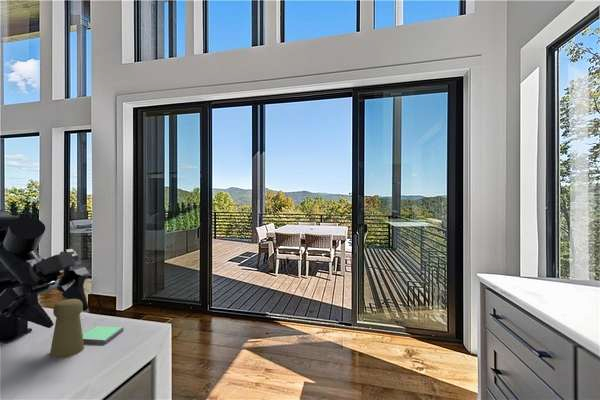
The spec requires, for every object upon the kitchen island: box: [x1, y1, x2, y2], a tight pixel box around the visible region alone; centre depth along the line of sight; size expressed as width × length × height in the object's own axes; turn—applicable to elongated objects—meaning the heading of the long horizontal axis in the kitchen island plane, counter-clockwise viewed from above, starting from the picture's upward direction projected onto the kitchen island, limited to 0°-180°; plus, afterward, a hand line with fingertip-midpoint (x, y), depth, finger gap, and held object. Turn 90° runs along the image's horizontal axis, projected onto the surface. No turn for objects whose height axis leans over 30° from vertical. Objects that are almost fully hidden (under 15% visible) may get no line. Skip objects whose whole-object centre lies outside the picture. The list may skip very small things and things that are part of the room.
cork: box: [49, 299, 85, 359], centre depth 69 cm, size 6×6×11 cm
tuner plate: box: [82, 325, 124, 345], centre depth 76 cm, size 7×7×1 cm
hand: (70, 317), depth 68 cm, fingers open, 9 cm apart
